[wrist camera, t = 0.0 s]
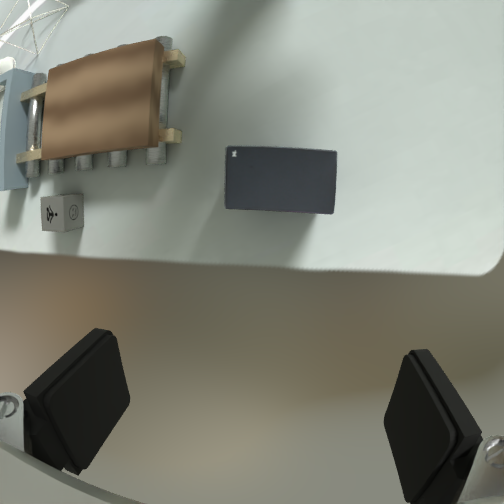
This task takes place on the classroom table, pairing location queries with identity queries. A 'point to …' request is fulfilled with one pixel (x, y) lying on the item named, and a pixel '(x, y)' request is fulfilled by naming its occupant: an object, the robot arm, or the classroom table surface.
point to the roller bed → (114, 158)
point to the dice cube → (62, 212)
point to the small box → (280, 179)
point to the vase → (6, 67)
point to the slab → (104, 102)
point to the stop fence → (13, 128)
